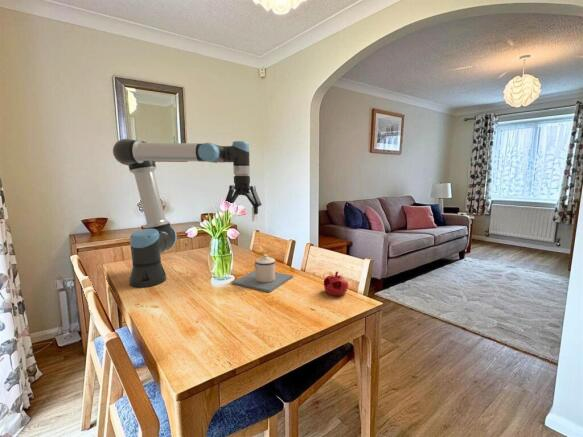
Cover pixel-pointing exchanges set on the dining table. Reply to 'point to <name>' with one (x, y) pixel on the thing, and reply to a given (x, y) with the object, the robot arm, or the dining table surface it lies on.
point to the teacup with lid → (265, 269)
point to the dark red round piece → (335, 285)
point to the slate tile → (252, 283)
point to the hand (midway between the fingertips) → (243, 219)
